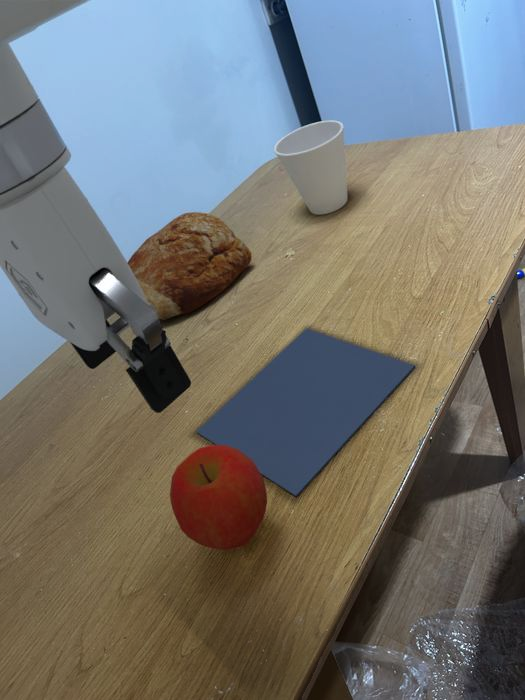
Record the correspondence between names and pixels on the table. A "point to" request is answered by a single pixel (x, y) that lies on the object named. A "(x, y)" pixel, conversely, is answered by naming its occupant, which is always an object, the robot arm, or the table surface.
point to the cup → (316, 164)
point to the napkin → (305, 407)
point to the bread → (188, 263)
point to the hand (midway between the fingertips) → (137, 376)
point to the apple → (218, 497)
